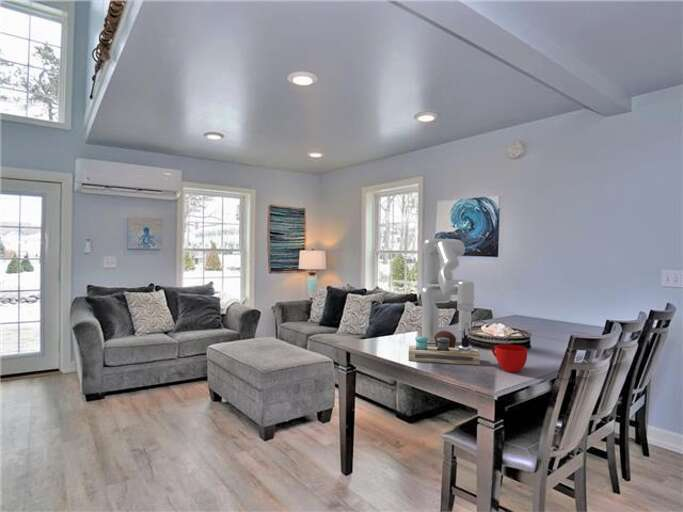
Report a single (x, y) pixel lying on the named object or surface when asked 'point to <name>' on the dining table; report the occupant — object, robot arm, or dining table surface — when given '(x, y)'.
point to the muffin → (446, 335)
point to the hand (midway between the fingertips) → (465, 346)
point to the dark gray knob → (443, 344)
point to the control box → (444, 356)
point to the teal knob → (421, 343)
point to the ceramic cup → (510, 357)
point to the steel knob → (464, 348)
